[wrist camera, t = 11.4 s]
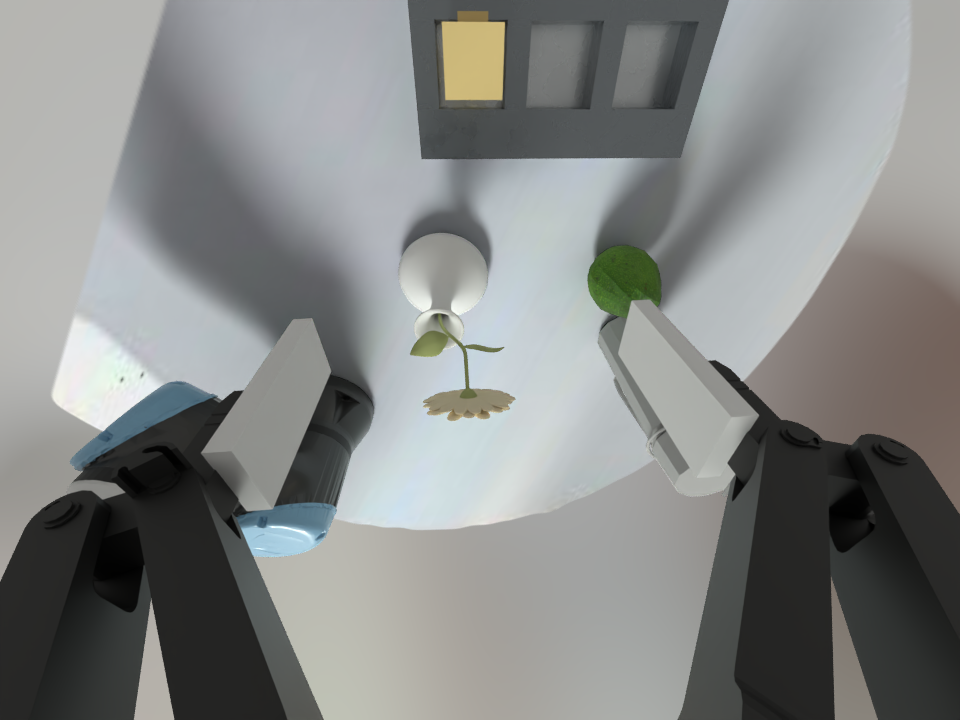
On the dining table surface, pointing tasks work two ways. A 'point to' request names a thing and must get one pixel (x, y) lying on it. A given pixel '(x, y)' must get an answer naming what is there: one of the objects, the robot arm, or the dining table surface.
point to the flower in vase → (448, 314)
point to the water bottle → (655, 422)
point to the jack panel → (570, 78)
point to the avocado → (623, 279)
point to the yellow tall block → (473, 57)
